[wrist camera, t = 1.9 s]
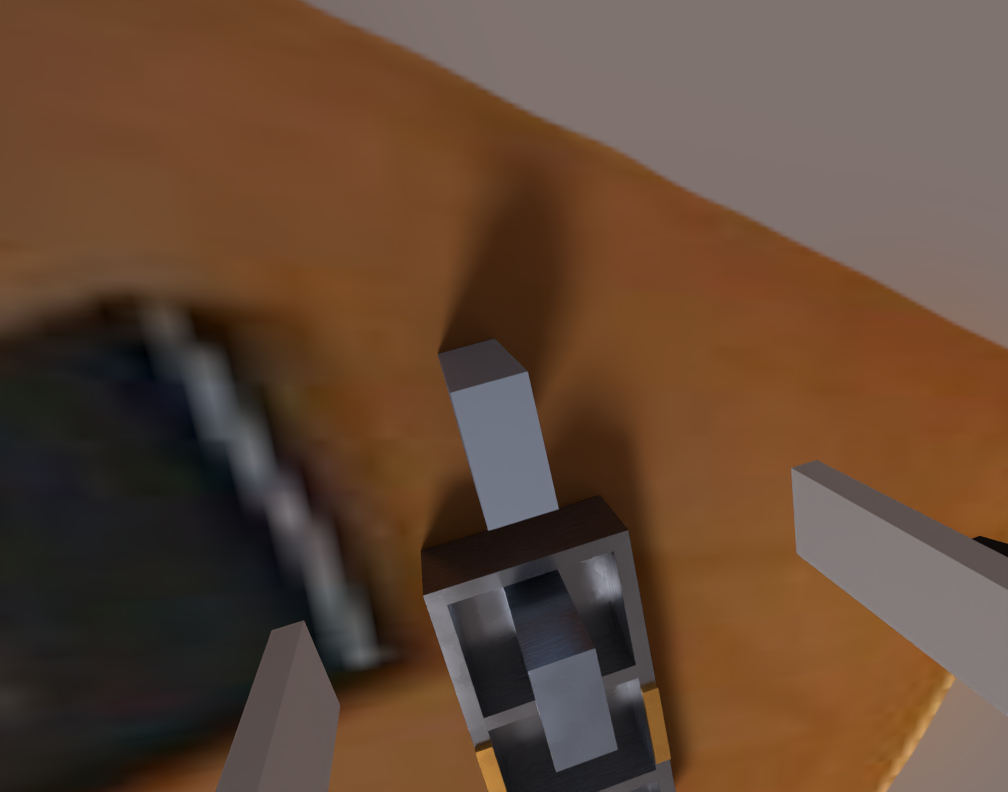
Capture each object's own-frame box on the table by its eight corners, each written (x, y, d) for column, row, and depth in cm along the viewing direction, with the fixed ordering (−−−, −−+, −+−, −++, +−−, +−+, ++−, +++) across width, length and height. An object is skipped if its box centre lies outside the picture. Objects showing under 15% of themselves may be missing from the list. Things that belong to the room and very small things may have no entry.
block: (437, 353, 28) (450, 393, 20) (494, 338, 28) (527, 371, 21) (467, 459, 30) (488, 530, 22) (520, 443, 30) (558, 509, 23)
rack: (420, 551, 31) (427, 669, 22) (600, 495, 32) (673, 587, 23) (522, 858, 39) (555, 1031, 31) (660, 805, 41) (731, 957, 32)
